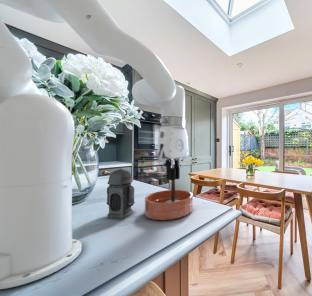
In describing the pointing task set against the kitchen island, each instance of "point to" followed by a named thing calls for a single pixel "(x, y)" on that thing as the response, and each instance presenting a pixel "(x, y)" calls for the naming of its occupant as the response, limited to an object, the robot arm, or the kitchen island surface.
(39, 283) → the kitchen island surface
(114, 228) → the kitchen island surface
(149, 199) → the bowl
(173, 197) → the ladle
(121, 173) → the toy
